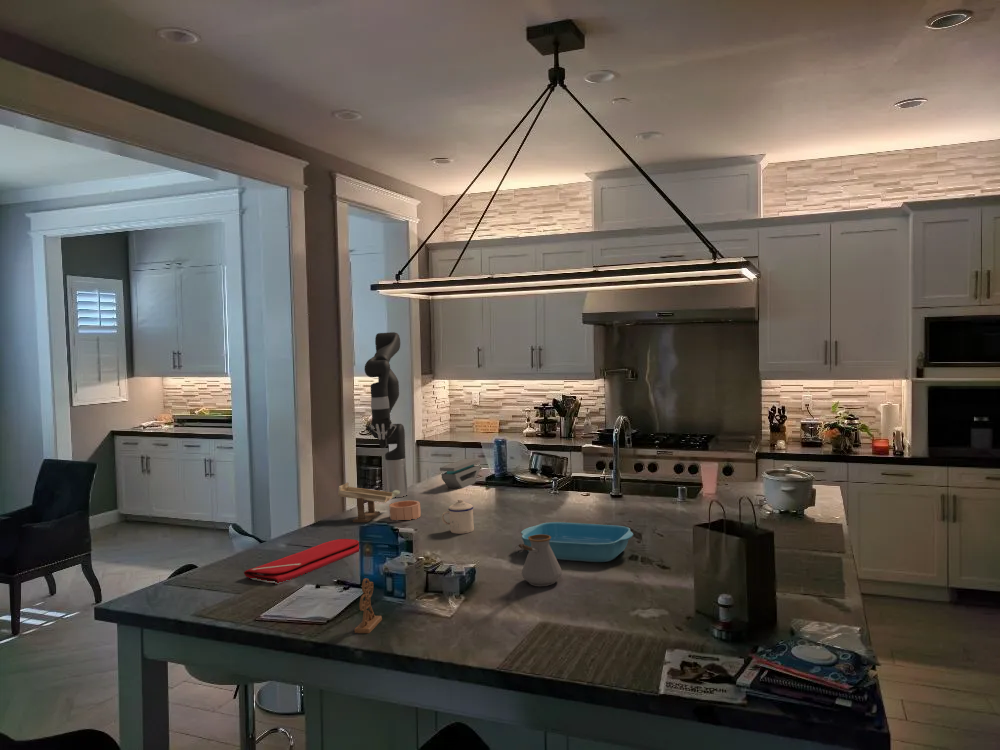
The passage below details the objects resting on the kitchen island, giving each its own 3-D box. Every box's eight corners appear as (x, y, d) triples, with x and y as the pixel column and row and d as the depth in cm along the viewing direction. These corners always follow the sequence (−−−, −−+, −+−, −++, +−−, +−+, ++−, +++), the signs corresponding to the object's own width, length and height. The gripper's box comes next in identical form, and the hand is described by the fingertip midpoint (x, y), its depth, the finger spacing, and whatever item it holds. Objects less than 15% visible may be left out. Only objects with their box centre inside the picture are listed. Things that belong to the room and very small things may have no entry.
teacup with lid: (476, 527, 277) (474, 496, 276) (472, 533, 268) (470, 501, 267) (445, 528, 278) (443, 497, 278) (439, 534, 269) (437, 502, 269)
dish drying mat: (368, 549, 258) (367, 538, 258) (279, 586, 222) (278, 574, 222) (334, 545, 266) (333, 534, 266) (243, 581, 230) (242, 569, 230)
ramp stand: (366, 513, 310) (364, 491, 309) (379, 513, 309) (378, 491, 308) (353, 522, 296) (351, 498, 296) (367, 522, 295) (365, 498, 294)
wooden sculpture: (369, 633, 181) (365, 584, 180) (354, 632, 182) (350, 584, 181) (382, 619, 190) (379, 573, 189) (368, 619, 191) (364, 573, 190)
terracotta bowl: (396, 514, 306) (395, 500, 306) (424, 513, 304) (423, 500, 303) (386, 521, 294) (385, 507, 294) (415, 521, 292) (414, 507, 292)
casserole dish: (509, 558, 236) (508, 536, 236) (538, 539, 256) (537, 519, 255) (621, 568, 219) (620, 545, 219) (643, 547, 239) (642, 525, 238)
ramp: (355, 487, 317) (356, 477, 317) (399, 493, 314) (400, 483, 313) (338, 496, 300) (338, 486, 300) (385, 503, 296) (385, 492, 296)
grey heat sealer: (467, 480, 371) (466, 458, 370) (481, 480, 367) (479, 458, 367) (441, 490, 349) (439, 467, 348) (455, 491, 345) (454, 468, 345)
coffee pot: (530, 574, 219) (527, 523, 218) (568, 577, 214) (565, 525, 213) (501, 599, 199) (498, 543, 198) (541, 602, 194) (538, 546, 194)
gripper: (398, 405, 316) (401, 446, 317) (368, 406, 319) (371, 446, 320) (392, 407, 309) (395, 449, 310) (362, 409, 311) (365, 450, 312)
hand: (383, 447), depth 315 cm, fingers closed
